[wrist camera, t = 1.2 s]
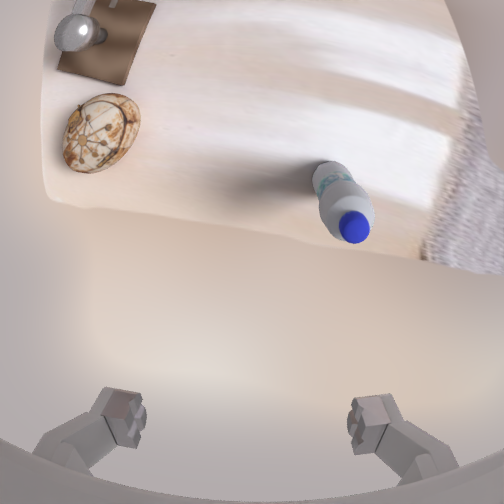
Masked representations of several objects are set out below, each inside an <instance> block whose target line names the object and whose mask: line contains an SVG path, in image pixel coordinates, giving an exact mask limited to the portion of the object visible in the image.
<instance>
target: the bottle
mask: <svg viewBox="0 0 504 504" xmlns="http://www.w3.org/2000/svg"><path fill="white" fill-rule="evenodd" d="M312 183H313V188H314V190H315V192H316V194H317V196H318V199H319V211H320V217H321V219H322V221H323V223H324V224H325V226H326V227H327V229H328V230H329V232H330V233H331V234H332V235H333V236H334V237H335V238H337V239H339V240H342V241H347V242H349V243H353V244H356V243H360V242H362V241H364V240H365V239H366V238H367V236H368V235H369V232H370V230H371V228H372V227H373V224H374V220H375V213H374V209H373V206H372V203H371V199H370V197H369V195H368V194H367V192H366V191H365V190H364V189H363V188H362V187H361V186H360V185H358V184H356V182H355V181H354V179H353V178H352V176H351V174H350V172H349V171H348V169H347V168H346V167H345V166H343V165H342V164H340V163H338V162H335V161H330V162H327V163H323V164H320V165H319V166H318V167H317V169H316V171H315V172H314V174H313V177H312Z"/></svg>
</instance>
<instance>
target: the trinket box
mask: <svg viewBox="0 0 504 504" xmlns="http://www.w3.org/2000/svg"><path fill="white" fill-rule="evenodd" d="M140 121H141V115H140V111H139V108H138V106H137V105H136V104H135V103H134V102H133V101H132V100H131V99H129V98H128V97H126V96H124V95H121V94H115V93H107V94H102V95H99V96H96V97H94V98H92V99H91V100H89V101H88V102H86V103H84V104H82V105H81V106H80V105H78V109H77V110H76V111H75V112H74V113H73V114H72V115H71V117H70V118H69V122H68V125H67V127H66V130H65V132H64V136H63V143H62V150H63V156H64V159H65V161H66V163H67V165H68V166H69V167H70V168H71V169H72V170H74V171H76V172H82V173H96V172H100V171H102V170H105V169H107V168H109V167H110V166H112V165H113V164H115V163H116V162H117V161H119V160H120V159H121V158H122V157H123V156H124V155H125V153H126V152H127V151H128V150H129V148H130V147H131V146H132V144H133V142H134V140H135V138H136V136H137V133H138V130H139V127H140Z"/></svg>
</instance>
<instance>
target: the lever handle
mask: <svg viewBox="0 0 504 504" xmlns="http://www.w3.org/2000/svg"><path fill="white" fill-rule="evenodd" d="M95 1H96V0H77V1H76V3H75V6H74V8H73V11H72V14H71V15H68V16H67V17H65V18H64V19H63V20H62V21H61V22H60V23H59V25H58V26H57V28H56V31H55V35H54V41H55V45H56V47H57V48H58V49H59V50H61V51H77V52H81V51H85V50H87V49H89V48H90V47H92V46H93V45H94V43H95V42H96V40H97V39H98V36H99V33H100V25H99V22H98V21H97V20H96V19H95V18H93V17H90V16H89V15H90V13H91V10H92V8H93V6H94V3H95Z"/></svg>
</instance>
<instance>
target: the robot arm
mask: <svg viewBox="0 0 504 504" xmlns="http://www.w3.org/2000/svg"><path fill="white" fill-rule="evenodd" d="M142 400H143V399H142V396H141V394H140V393H137V392H131V391H126V390H121V389H114V388H110V387H104V388H103V389H102V391H101V392H100V394H99V396H98V398H97V399H96V401H95V403H94V405H93V407H92V408H91V410H90V411H89V413H88V412H85V413H83V414H81V415H79V416H77V417H76V418H74V419H72V420H70V421H68V422H66V423H64V424H62V425H60V426H58V427H56V428H55V429H53V430H51V431H49V432H47V433H45V434H44V435H43V436H42V438H41V439H40V441H39V443H38V444H37V446H36V448H35V449H34V451H33V452H32V453H29V452H27V451H25V450H23V449H21V448H19V447H17V446H14V445H12V444H10V443H9V442H6V441H5V440H3V439H1V438H0V504H504V449H502V450H500V451H497V452H495V453H493V454H491V455H489V456H486V457H484V458H482V459H479V460H477V461H475V462H472V463H470V464H467V465H464V466H462V467H459V465H458V463H457V461H456V459H455V457H454V455H453V453H452V451H451V449H450V447H449V446H448V445H446V444H445V443H443V442H441V441H440V440H438V439H436V438H435V437H433V436H431V435H430V434H428V433H427V432H425V431H423V430H422V429H420V428H418V427H417V426H415V425H414V424H412V423H411V422H409V421H404V420H403V417H402V415H401V413H400V411H399V409H398V407H397V405H396V403H395V400H394V398H393V396H392V395H391V394H390V393H389V394H382V395H375V396H366V397H357V398H354V399H353V401H352V404H351V406H352V410H351V411H350V412H349V414H348V418H347V428H348V432H349V435H351V436H352V437H353V439H352V442H351V444H352V448H353V452H354V455H360V454H367V453H375V454H376V455H377V456H378V457H379V458H380V459H381V460H382V461H383V462H384V463H386V464H387V465H388V466H389V467H390V468H391V469H392V470H393V471H394V472H396V473H397V474H398V475H399V476H400V477H401V478H402V479H401V480H400V482H399V483H398V485H397V486H396V487H392V488H388V489H383V490H378V491H374V492H368V493H362V494H356V495H350V496H343V497H335V498H327V499H317V500H305V501H289V502H287V501H286V502H240V501H239V502H238V501H222V500H209V499H199V498H190V497H183V496H176V495H170V494H164V493H157V492H152V491H148V490H143V489H138V488H134V487H129V486H125V485H121V484H117V483H113V482H110V481H106V480H103V479H99V478H96V477H94V476H93V475H92V473H91V472H90V471H89V468H90V467H92V466H93V465H94V464H96V463H97V462H98V461H99V460H101V459H102V458H103V457H104V456H106V455H107V454H108V453H109V452H111V451H112V450H113V449H114V448H116V447H117V445H119V446H124V447H130V448H136V449H137V446H138V444H139V441H140V438H141V435H140V431H141V430H143V429H144V428H145V425H146V418H147V414H146V409H145V407H144V406H143V405H142V404H141V402H142Z"/></svg>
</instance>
